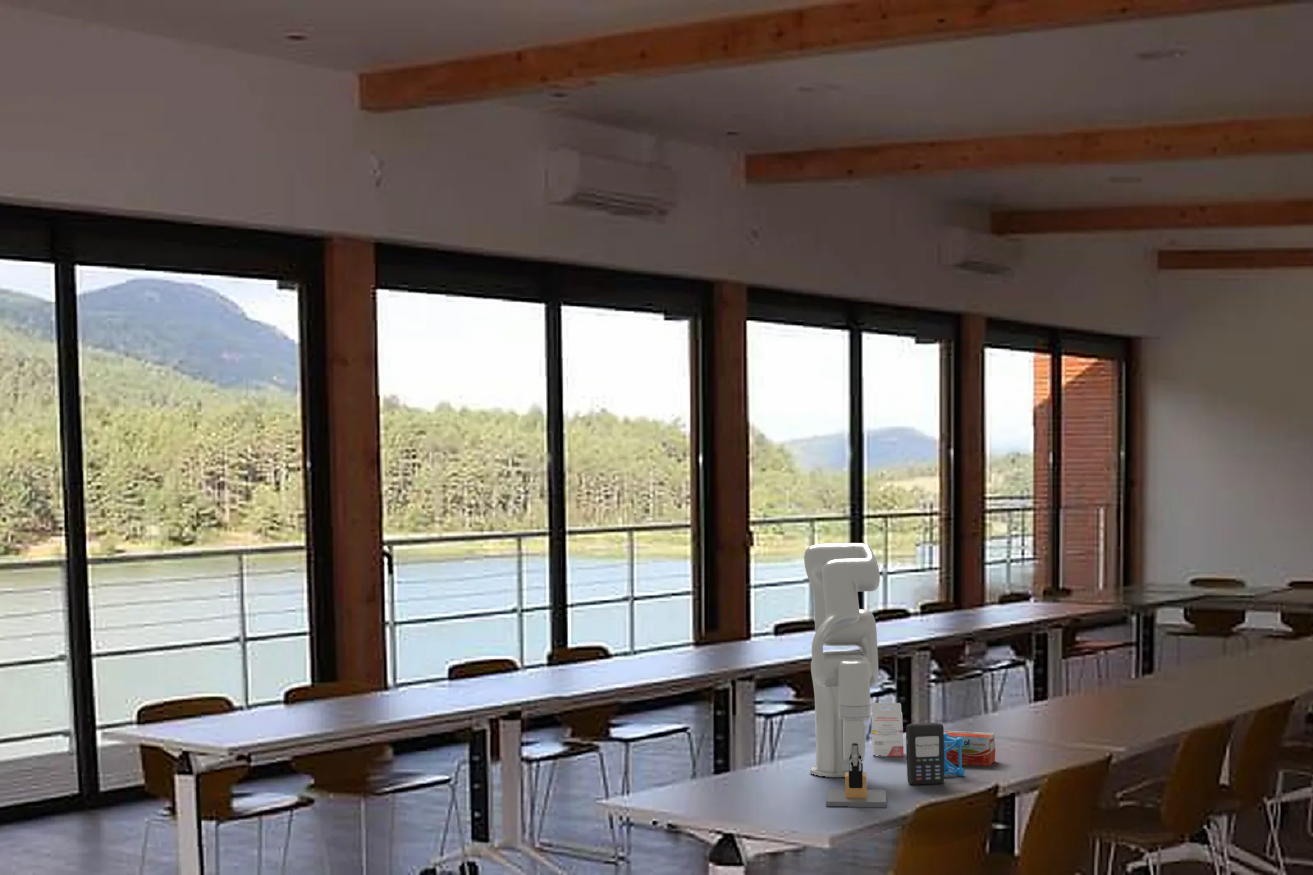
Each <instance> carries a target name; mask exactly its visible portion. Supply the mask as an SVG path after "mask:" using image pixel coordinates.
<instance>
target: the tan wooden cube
mask: <svg viewBox="0 0 1313 875" xmlns="http://www.w3.org/2000/svg"><path fill="white" fill-rule="evenodd" d="M844 778H845V779H844V786H845V787H844V789H845V798H867V790H868V788H867V772H863V773H862V780H863V787H862V788H849V772H845V777H844Z"/></svg>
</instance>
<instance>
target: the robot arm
mask: <svg viewBox="0 0 1313 875" xmlns="http://www.w3.org/2000/svg"><path fill="white" fill-rule="evenodd" d="M803 558H804V559H803V560H804V561H803V562H804V569H805V572H806V576H807V579H808V580H809V581H808V582H809V583H810V587H811V589H812V593H813V609H814V610H813V611H814V632H815V633H814V636H813V638H812V643H811V661H810V673H811V679H812V686H813V693H814V694H813V695H814V714H815V715H814V719H815V721H814V722H815V723H814V724H815V726H814V730H815V764H816V765H814V766H811V768H810V769H809V770H810V771H809V772H810V774H811V775H813V774H814V775H813V776H816V775H818V776H817V777H822V776H825V777H824V778H845V772H849V788H862V787H863V780H862V773H864V768H863V767H864V766H863V765H864V764H863V761H864V760H865V755H866V754H865V753H866V743H867V742H866V741H867V740H866V735H867V733H866V732H867V730H866V729H867V728H866V725H867V724H866V722H867V721H866V720H870V719H872V717H871V688H872V687H874V686H876V684H877V683H878V678H879V653H878V652H879V651H878V650H879V649H878V636H877V635H878V634H877V633H878V632H877V624H876V623H877V622H876V619H875V617H874V614H873V613H872V612H871V611H870V610H868V609H865V608H864V609H862V608H860V604H859V596H858V592H874V591H875V592H876V591H877V589H878V588H879V585H880V581H881V577H880V576H881V575H880V569H879V564H878V561H877V559H876V556H875V555H874V552H873V550H872V548H871V547H870V545H869V544H867V543H863V542H849V543H848V542H847V543H846V542H842V543H841V542H835V543H834V542H833V543H832V542H831V543H826V542H825V543H817V544H812V545H810V546H808V547H807V548H806V549H805V552H804V557H803ZM824 646H826V647H853V646H854V647H857V648H859V650H852V651H851V650H849V651H848V650H847V651H846V650H839V651H837V650H834V651H830V650H829V651H824Z"/></svg>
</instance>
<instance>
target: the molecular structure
mask: <svg viewBox="0 0 1313 875" xmlns="http://www.w3.org/2000/svg"><path fill="white" fill-rule="evenodd" d="M948 740H951V741H948ZM946 744H953V745H952V746H950V747H949V748H947V749H946ZM963 745H964V739H963V738H961V737H958V738H956V739H954V738H950V737H949V735H948V734H947V733H944V776H945V775H956V776H958V777H963V776H965V774H966V770H965V769H964V768H963V765H962V758H961V746H963ZM955 746H958V753H959V765H958V767H957V765H953V764H952V763H951V762H949V761H948V760H947V759H946V752H948V751H949V750H951V749H952V748H954V747H955ZM949 770H950V771H949Z"/></svg>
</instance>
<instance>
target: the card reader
mask: <svg viewBox="0 0 1313 875" xmlns="http://www.w3.org/2000/svg"><path fill="white" fill-rule="evenodd" d="M944 731H945V728H944V725H943V723H940V722H920V723H919V722H917V723H909V724H906V725H905V743H906V744H905V746H906V747H905V750H906V751H905V754H906V776H907V777H906V778H907V779H906V780H907V782H908V784H909V785H913V786H921V785H922V786H923V785H937V784H938V785H939V784H940V785H941V784H942V783H944V782H945V775H944V772H945V771H944Z"/></svg>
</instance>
